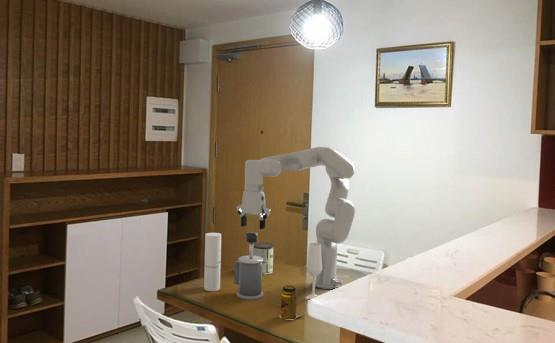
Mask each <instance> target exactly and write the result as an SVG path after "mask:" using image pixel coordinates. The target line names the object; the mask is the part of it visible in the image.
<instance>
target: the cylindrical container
mask: <svg viewBox="0 0 555 343" xmlns="http://www.w3.org/2000/svg"><path fill="white" fill-rule="evenodd" d="M221 256H222V233H220V232H207V233H205V239H204V276H203V278H204V279H203V282H204V283H203V289H204V290H205V291H208V292H215V291H219V290H221V260H222V257H221Z"/></svg>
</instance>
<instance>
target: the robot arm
mask: <svg viewBox="0 0 555 343" xmlns="http://www.w3.org/2000/svg"><path fill="white" fill-rule="evenodd" d="M319 166H320V167H321V166H324V168H325V172H326V174H327V176H328V178H329V179H330V180H329V181H330V190H329V193H328V195H327V196H328V197H327V200H326V203H325V207H324V212H325V214H326V215H327V216H329V217H331V218H333V219H334V220H332V219H329V218H324V219H321V220H319V221H318V222H317V224H316V226H315V236H316V243H319V244H321V256H322V271H321V273H320V274H319V275H317V276H316V277H315V288H318V289H325V290H332V289H337V288H338V287H339V286H343V285H344V280H343V279H339V276H338V275H337V265H338V264H337V263H338V262H337V261H338V259H337V258H338V244H342V243H344V242H345V241H346V240H347V239H348V236H349V234H350V232H351V228H352V225H353V221H354V218H355V213H356V209H355V206H354V204H353V202H352V201H350V200H348V194H349V190H350V183H349V180H350V179H351V178H353V176H354V174H355V171H356V169H355V166H354V163H353V162H351V161H350V160H349V159H348V158H346V157H345V156H344V155H343V154H341V153H339V152H338V151H337V150H335V149H333V148H331V147H327V146H325V147H324V146H316V147H311V148H308V149H307V148H306V149H303V150H298V151H294V152H287V153H282V154H277V155H272V156H271V155H270V156H267V157H263V158H260V159H248V160H245V163H244V191H243V193H242V200H241V204H239V205H236V208H235V209H236V210H237V214H238V215H239V217H240V226H241V227H246V226H247V225H248V224H247V221H248V219H247V218H248V217H247V215H250V216H257V217H259V230H265V228H266V220H267V219H268V217H269V216H270V214H271V209H270V208H268V207H267V206H266V205H267V203H266V196H265V192H264V190H265V187H264V186H263V177H269V178H275V177H278V176H279V175H280V174H281V172H283V171H290V172H291V171H293V172H296V171H303V170H306V169H310V168H314V167H315V168H316V167H319ZM311 284H313V281H312V282H311Z"/></svg>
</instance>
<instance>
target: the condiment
mask: <svg viewBox="0 0 555 343" xmlns="http://www.w3.org/2000/svg"><path fill="white" fill-rule="evenodd" d="M297 300H298V295H297V287H296V286H293V285H283V287H282V292H281V297H280V315H281V317H282V318H283V319H295V318H296V314H297V303H298V302H297ZM283 319H282V320H283Z"/></svg>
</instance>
